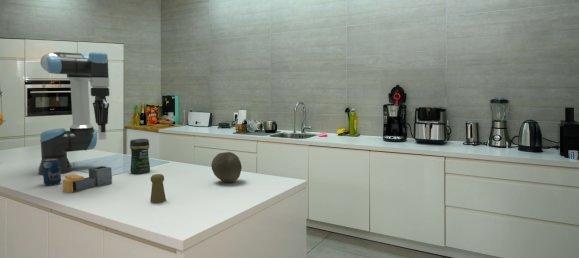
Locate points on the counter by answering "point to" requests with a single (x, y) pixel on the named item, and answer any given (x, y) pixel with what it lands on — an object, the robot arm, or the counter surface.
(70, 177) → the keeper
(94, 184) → the link
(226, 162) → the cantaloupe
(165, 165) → the counter surface
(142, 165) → the coffee jar
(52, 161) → the soda can
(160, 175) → the cork
